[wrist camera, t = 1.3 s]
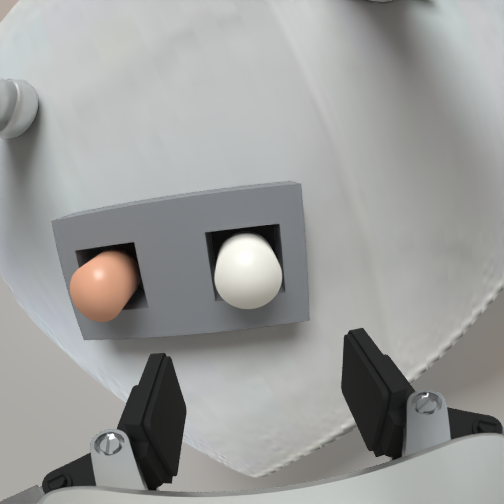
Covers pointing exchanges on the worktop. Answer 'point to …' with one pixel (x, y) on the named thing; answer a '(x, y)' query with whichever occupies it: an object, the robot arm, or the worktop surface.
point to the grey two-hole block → (189, 259)
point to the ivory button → (247, 271)
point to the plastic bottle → (16, 107)
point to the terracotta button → (105, 284)
